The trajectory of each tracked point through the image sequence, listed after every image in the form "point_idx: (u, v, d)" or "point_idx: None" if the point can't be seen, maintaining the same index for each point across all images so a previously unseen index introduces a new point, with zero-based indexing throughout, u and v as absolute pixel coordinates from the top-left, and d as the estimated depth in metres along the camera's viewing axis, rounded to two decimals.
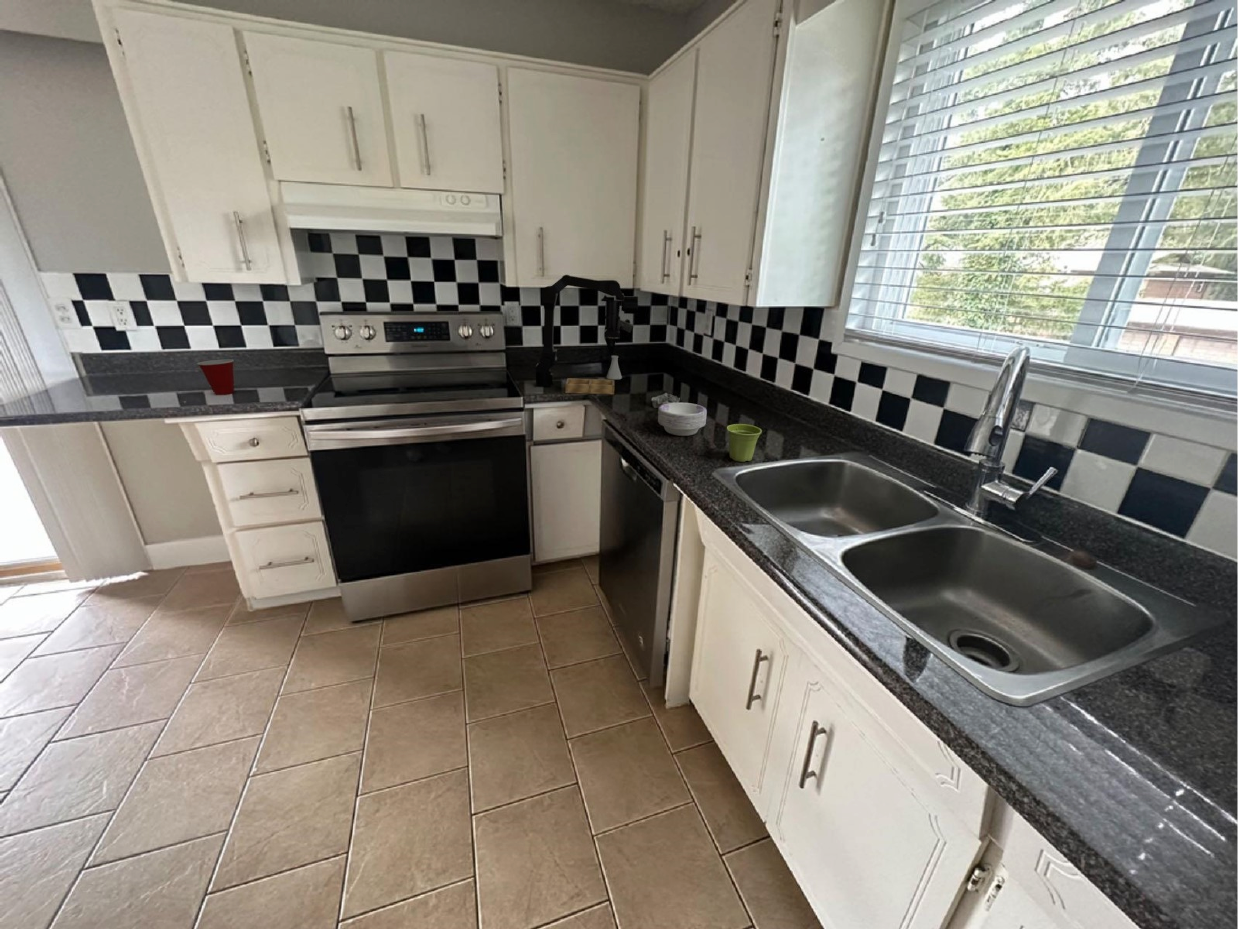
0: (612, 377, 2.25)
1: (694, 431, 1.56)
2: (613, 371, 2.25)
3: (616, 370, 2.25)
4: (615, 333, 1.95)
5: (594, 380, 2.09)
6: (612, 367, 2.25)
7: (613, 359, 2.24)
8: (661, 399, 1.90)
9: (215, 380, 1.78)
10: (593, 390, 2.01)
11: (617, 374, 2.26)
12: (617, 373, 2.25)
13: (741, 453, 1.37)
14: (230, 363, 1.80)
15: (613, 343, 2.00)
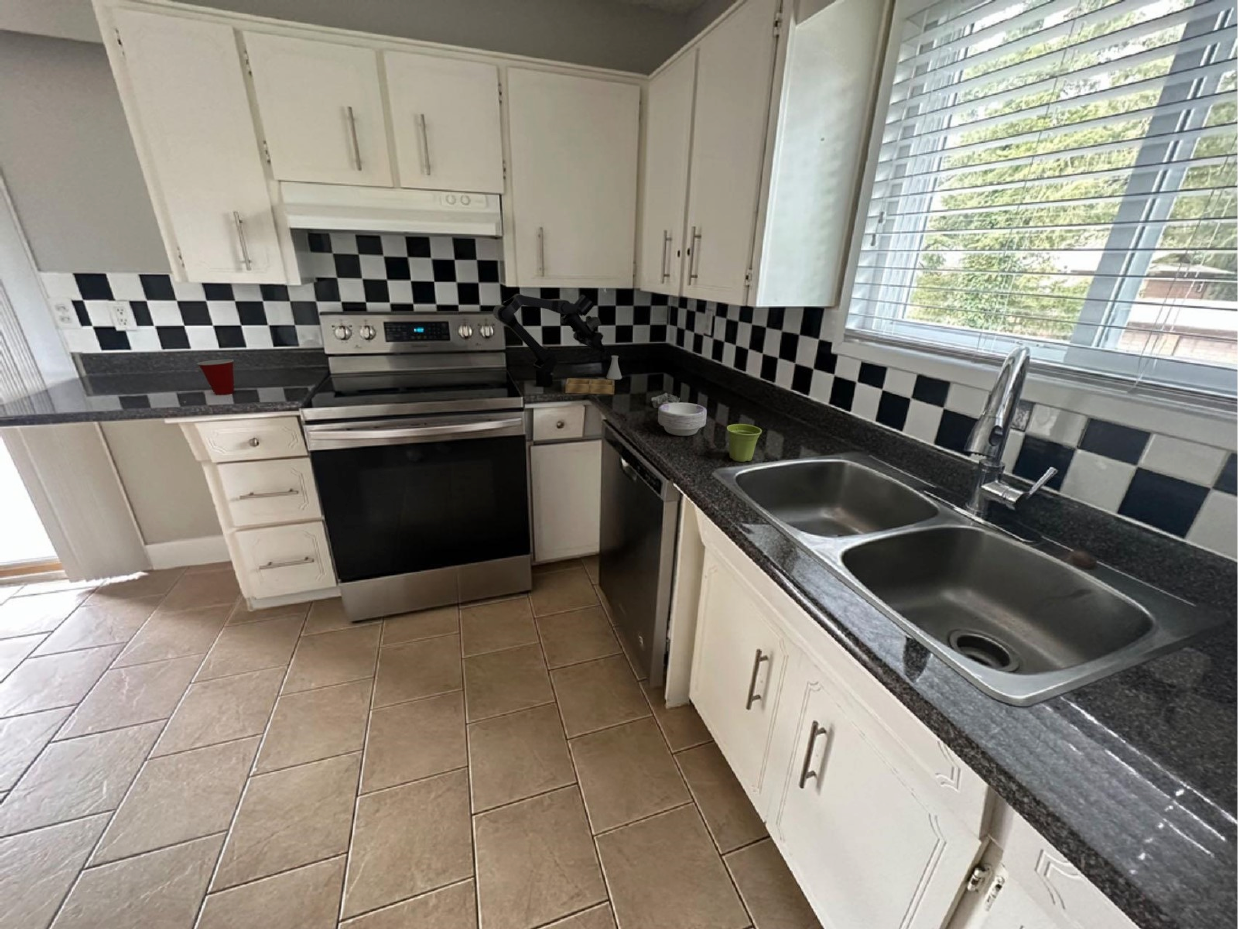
0: (612, 377, 2.25)
1: (694, 431, 1.56)
2: (613, 371, 2.25)
3: (616, 370, 2.25)
4: (599, 336, 2.07)
5: (594, 380, 2.09)
6: (612, 367, 2.25)
7: (613, 359, 2.24)
8: (661, 399, 1.90)
9: (215, 380, 1.78)
10: (593, 390, 2.01)
11: (617, 374, 2.26)
12: (617, 373, 2.25)
13: (741, 453, 1.37)
14: (230, 363, 1.80)
15: (600, 343, 2.12)
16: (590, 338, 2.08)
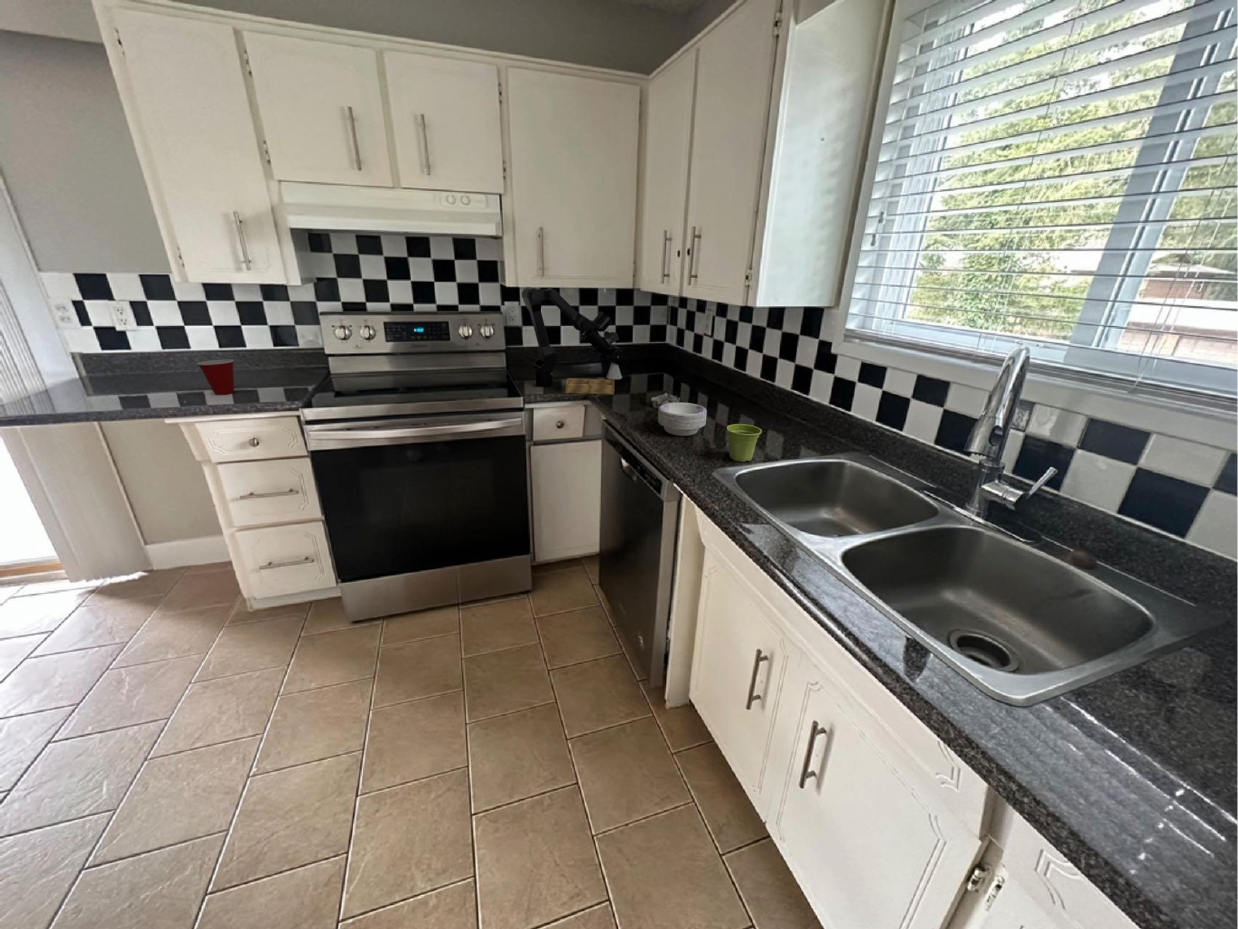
0: (612, 377, 2.25)
1: (694, 431, 1.56)
2: (613, 371, 2.25)
3: (616, 370, 2.25)
4: (617, 351, 2.14)
5: (594, 380, 2.09)
6: (612, 367, 2.25)
7: None
8: (661, 399, 1.90)
9: (215, 380, 1.78)
10: (593, 390, 2.01)
11: (617, 374, 2.26)
12: (616, 373, 2.25)
13: (740, 453, 1.37)
14: (230, 363, 1.80)
15: None
16: (609, 353, 2.15)
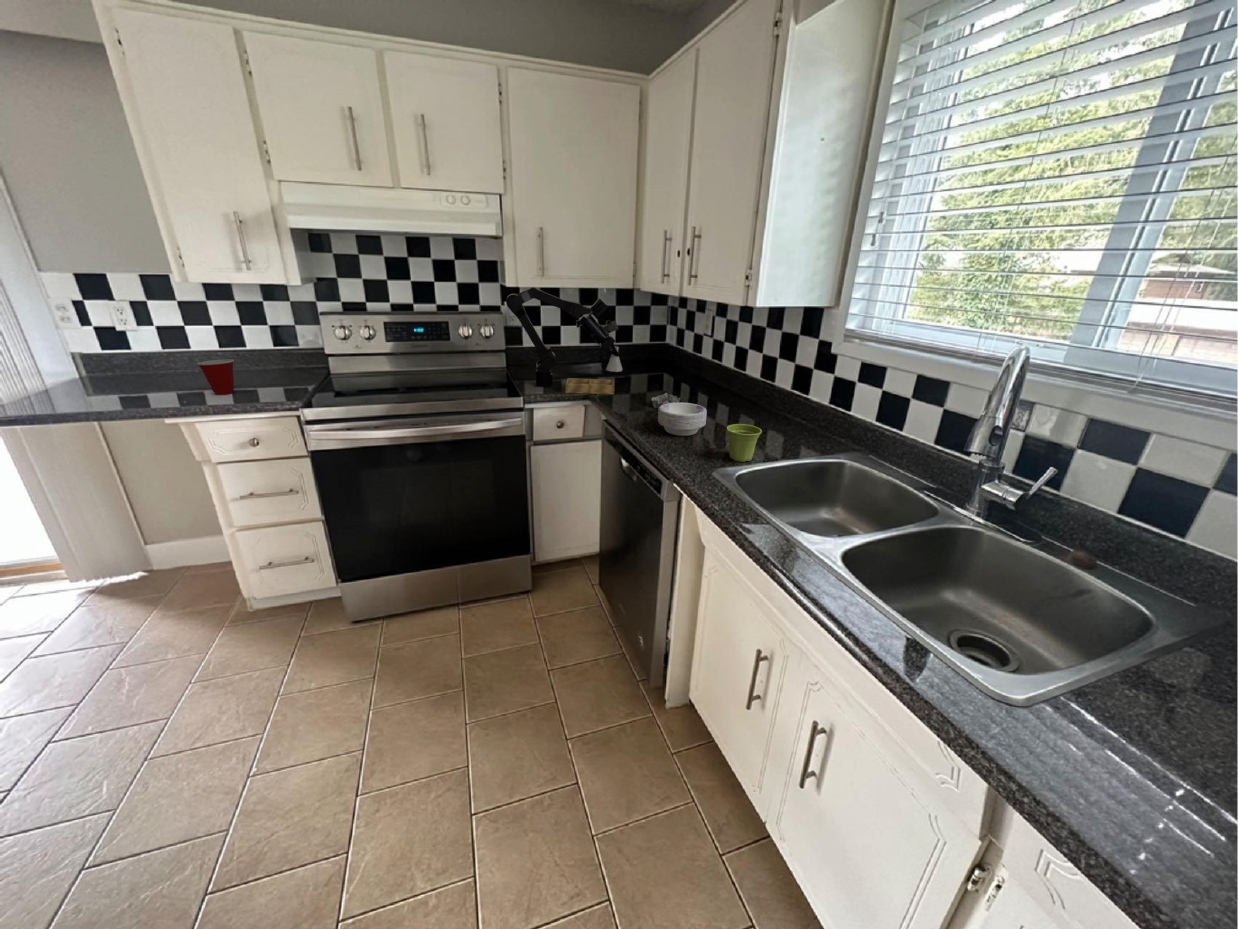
0: (610, 369, 2.13)
1: (694, 431, 1.56)
2: (611, 363, 2.12)
3: (614, 362, 2.12)
4: (609, 341, 2.01)
5: (594, 380, 2.09)
6: (611, 358, 2.12)
7: None
8: (661, 399, 1.90)
9: (215, 380, 1.78)
10: (593, 390, 2.01)
11: (615, 366, 2.12)
12: (615, 364, 2.12)
13: (741, 453, 1.37)
14: (230, 363, 1.80)
15: (613, 347, 2.09)
16: (602, 343, 2.03)
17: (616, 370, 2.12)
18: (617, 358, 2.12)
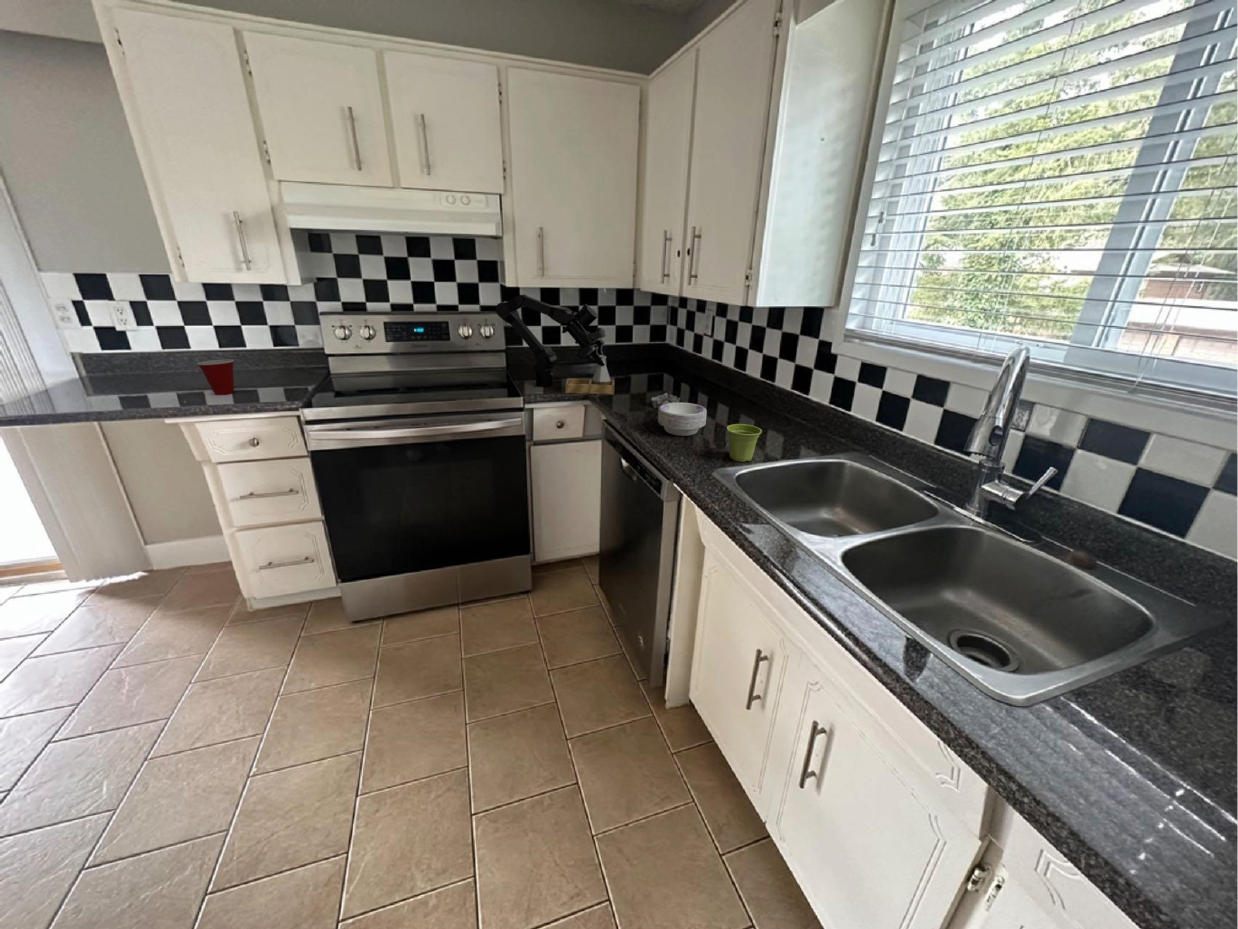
0: (594, 378, 2.03)
1: (694, 431, 1.56)
2: (596, 372, 2.02)
3: (599, 371, 2.01)
4: (585, 349, 1.92)
5: None
6: (597, 367, 2.02)
7: None
8: (661, 399, 1.90)
9: (215, 380, 1.78)
10: (593, 390, 2.01)
11: (599, 376, 2.01)
12: (599, 374, 2.01)
13: (741, 453, 1.37)
14: (230, 363, 1.80)
15: (596, 356, 1.98)
16: None
17: (599, 380, 2.01)
18: (603, 368, 2.01)
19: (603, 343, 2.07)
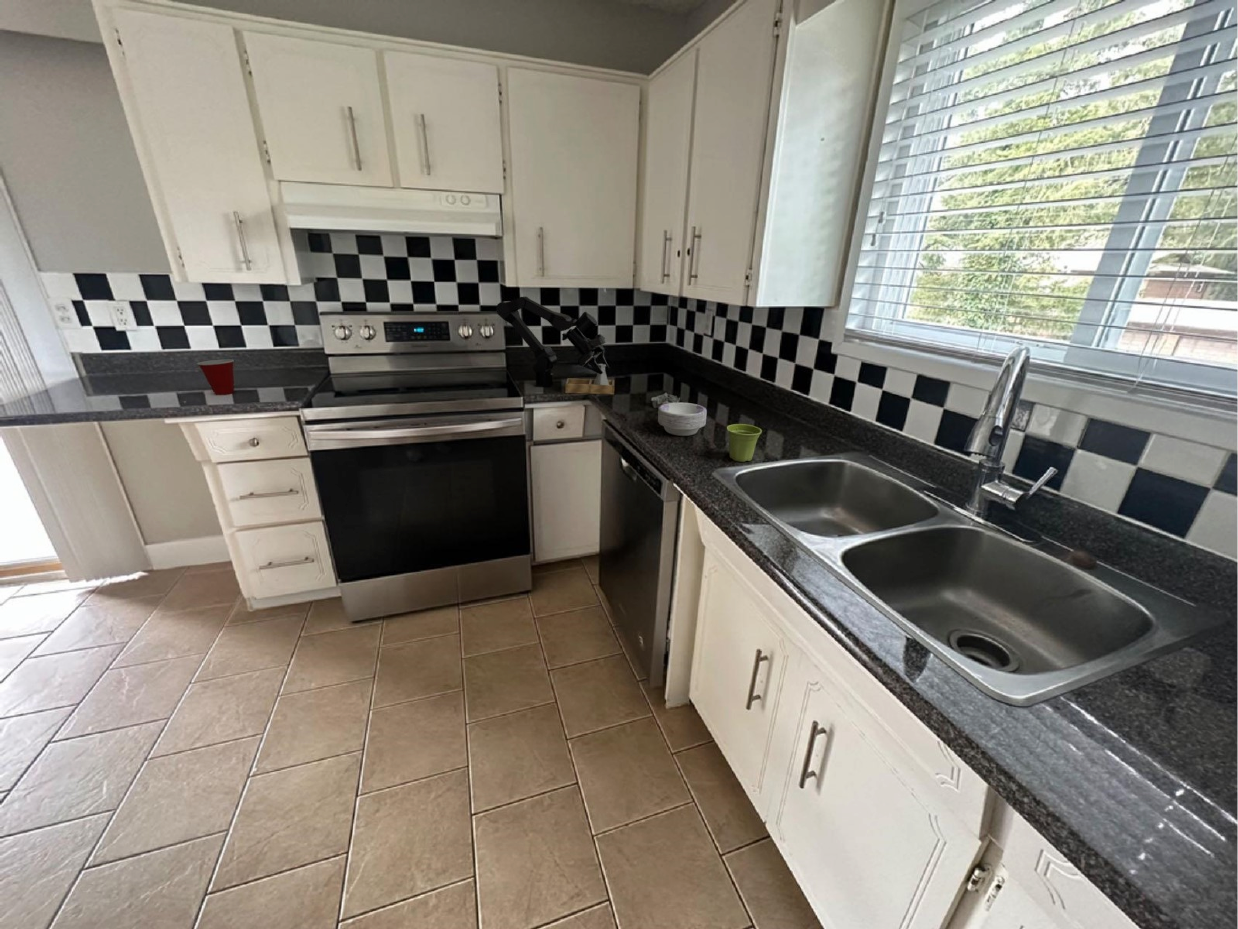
0: None
1: (694, 431, 1.56)
2: (596, 380, 2.04)
3: (599, 380, 2.03)
4: (585, 356, 1.93)
5: (594, 380, 2.09)
6: (597, 376, 2.04)
7: None
8: (661, 399, 1.90)
9: (215, 380, 1.78)
10: (593, 390, 2.01)
11: (599, 384, 2.03)
12: (599, 383, 2.03)
13: (741, 453, 1.37)
14: (230, 363, 1.80)
15: (594, 364, 1.97)
16: None
17: None
18: (602, 376, 2.03)
19: (603, 349, 2.08)
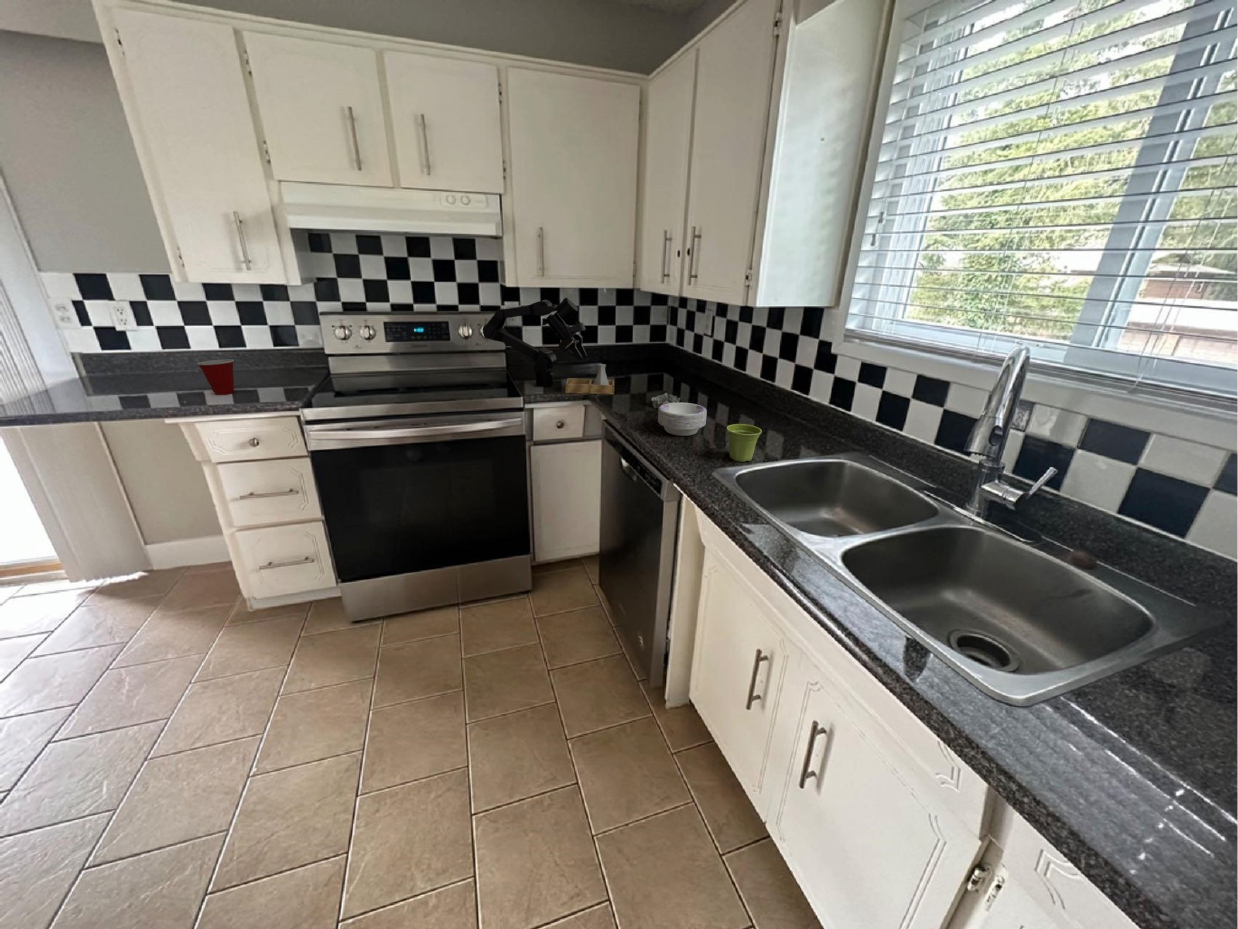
0: None
1: (694, 431, 1.56)
2: (596, 380, 2.04)
3: (599, 380, 2.03)
4: (567, 340, 1.93)
5: (594, 380, 2.09)
6: (597, 376, 2.04)
7: (598, 367, 2.03)
8: (661, 399, 1.90)
9: (215, 380, 1.78)
10: (593, 390, 2.01)
11: (599, 384, 2.03)
12: (599, 383, 2.03)
13: (741, 453, 1.37)
14: (230, 363, 1.80)
15: (574, 349, 1.97)
16: None
17: None
18: (602, 376, 2.03)
19: (581, 338, 2.09)
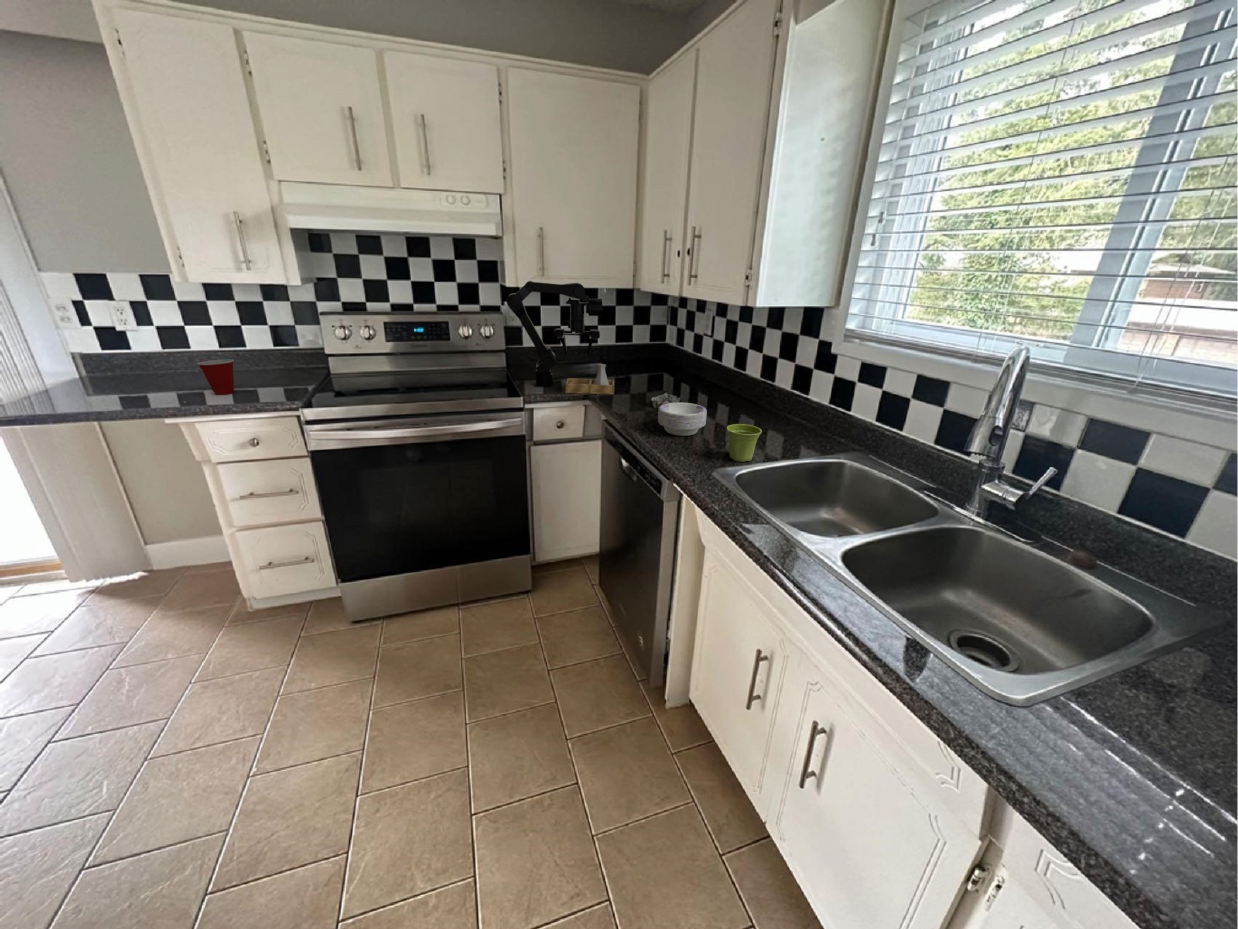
0: None
1: (694, 431, 1.56)
2: (596, 380, 2.04)
3: (599, 380, 2.03)
4: None
5: (594, 380, 2.09)
6: (597, 376, 2.04)
7: (598, 367, 2.03)
8: (661, 399, 1.90)
9: (215, 380, 1.78)
10: (593, 390, 2.01)
11: (599, 384, 2.03)
12: (599, 383, 2.03)
13: (740, 453, 1.37)
14: (230, 363, 1.80)
15: None
16: (594, 330, 2.04)
17: None
18: (602, 376, 2.03)
19: None
